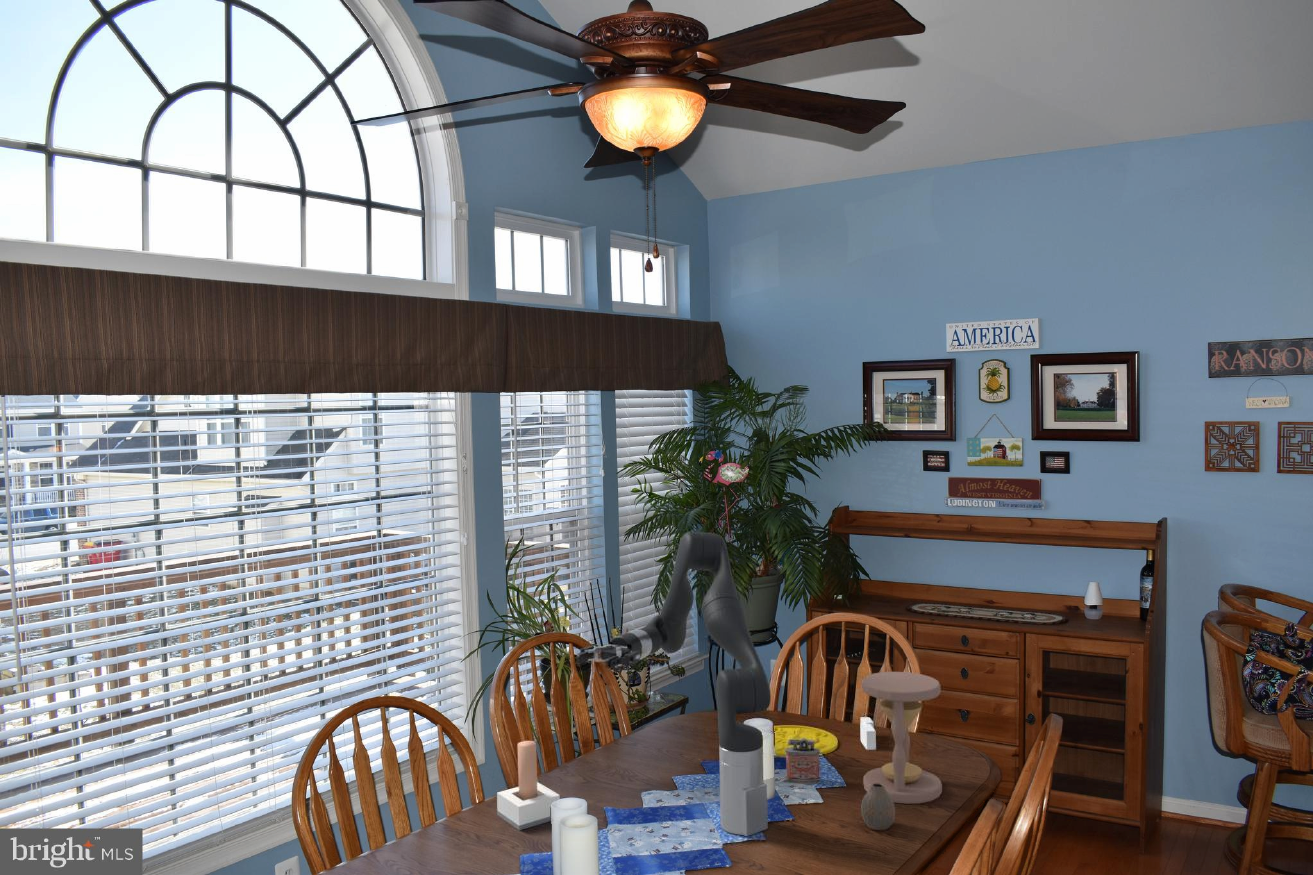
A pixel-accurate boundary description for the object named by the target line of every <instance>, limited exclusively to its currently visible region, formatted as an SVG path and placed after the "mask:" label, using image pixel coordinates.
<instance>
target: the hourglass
mask: <svg viewBox="0 0 1313 875" xmlns="http://www.w3.org/2000/svg"><path fill="white" fill-rule="evenodd" d="M941 687H942V686H941V684H940V681H939V680H937V679H936V678H934V677H932V676H928V675H925V674H921V673H917V672H916V673H915V672H909V671H908V672H905V671H883V672H882V671H880V672H874V673H870V674H867V675H866V676H864V677H863V678H862V679H861V689H862V691H863V692H864V693H865V694H866V695H867V696H870V697H873V698H877V699H880V700H881V701H880V702H879V704H880V708H881V710H882V712H883V713H884V715H885V716H886V717H887V719H888V721H889V722H890V723H891V733H892V736H893V740H894V748H893V751H892V757H891V758H892V760H891V762H888V763H886V764H883V765H882V767H877V768H873V769H871V770H868V771H867V772H866V773H865V774H864V776H863V788H864V790H865V791H866V793H867V792H868V791H869V790H870V788H871V786H872V784H874V783H880V784H883V785H884V788H885V790H886V791H887V792H888V794H889V795H890V796H891V798H892V800H893V802H894V804H895V803H896V804H905V805H907V804H908V805H909V804H913V805H914V804H923V803H928V802H932V801H934V800H936V799H939V798H940V795H941V794H942V793H943V784H942V781H941V779H940V778H939V777H937V776H936V775H935V774H933V773H932V772H928V771H926V770H923V769H922V768H921V767H920V766H918V765H915V764H913V763H910V749H911V748H910V746H911V737H910V734H909V730H908V729H909V727H910V726H911V725H912V724H913V722H914V720H916V718H917V716H918V715H919V714H920V712H921V711H922V707H923V704H922V703H921V702H922V701H930V700H932V699H936V698H937V697H939V695H940V694H941V692H942V691H941V690H942V689H941Z"/></svg>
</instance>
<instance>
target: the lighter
mask: <svg viewBox="0 0 1313 875" xmlns="http://www.w3.org/2000/svg"><path fill="white" fill-rule="evenodd" d="M788 745H794V747H790V748H786V749H785V753H786V758H785V759H786V760H785V761H786V762H785V764H786V771H785V772H786V776H785V782H787V783H789V784H808V785H809V784H820V783H821V776H820V756H819V754H820V750H819V749H818V748H814V740H807V739H806V738H802V739H801V740H798V739H789V740H788ZM797 746H799V747H797ZM809 746H810V747H811V748H810V747H809Z"/></svg>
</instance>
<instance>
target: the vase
mask: <svg viewBox="0 0 1313 875" xmlns="http://www.w3.org/2000/svg"><path fill="white" fill-rule="evenodd" d="M860 807H861V809H860V810H861V816H862V819H863V822H864V823H865V824H866V826H867V827H869V829H871V830H873V831H885V830H887V829H889V828H890V827H891V826H892V825H893V822H894V820H895V816H896V806H895V802H893V800H892V798H891V796H890V795H889V794H888V792H887V791H886V790H885V788H884V785H883V784H880V783H874V784H872V786H871V788H870V790H869V791H868V792H867V791H866V793H865V794H864V796H863V798H862V800H861V805H860Z"/></svg>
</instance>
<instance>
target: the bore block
mask: <svg viewBox="0 0 1313 875" xmlns="http://www.w3.org/2000/svg"><path fill="white" fill-rule="evenodd" d="M537 793H538V797H535V798H532V799H528V800H525V801H522V800H521V799H519V786H516V787H513V788H510V789H505V790H502V791H499V792H496V801H497V803H496V806H497V808H496V810H497V812H496V813H497V816H498V817H500V819H502V820H504V821H505V822H506V823H508V824H509V825H511V826H512V827H513V828H515V829H516V830H518V831H521V830H525V829H528V828H532V827H535V826H539V825H542V824H545V823H548V822H551V818H550V807H551V804H552V802H554V801H557V800H559V799H560V798H561V797H560V794H558V793H557V792H555V791H554V790H552V789H551V788H548V787H547V786H545V785H543V784H542V783H539V781H537ZM560 800H561V799H560Z"/></svg>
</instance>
